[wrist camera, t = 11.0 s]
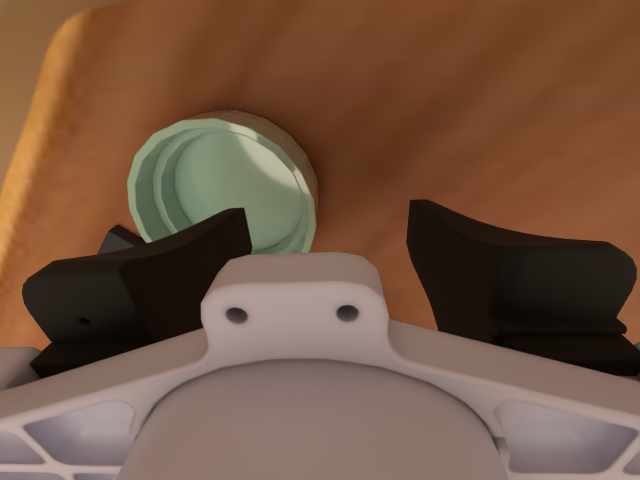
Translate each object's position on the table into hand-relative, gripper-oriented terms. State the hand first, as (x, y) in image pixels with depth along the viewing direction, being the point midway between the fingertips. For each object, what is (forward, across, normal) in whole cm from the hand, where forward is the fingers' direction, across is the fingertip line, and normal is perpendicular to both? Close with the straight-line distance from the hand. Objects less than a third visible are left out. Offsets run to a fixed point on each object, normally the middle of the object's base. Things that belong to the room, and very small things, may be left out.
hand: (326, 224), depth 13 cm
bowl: (+10, +7, +2) cm, 12 cm away
